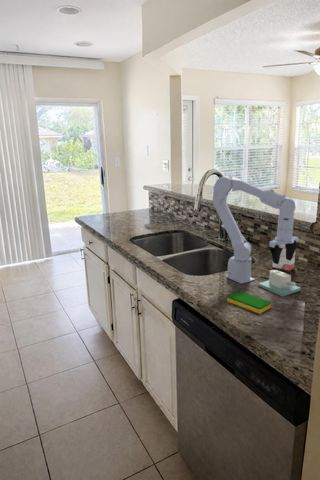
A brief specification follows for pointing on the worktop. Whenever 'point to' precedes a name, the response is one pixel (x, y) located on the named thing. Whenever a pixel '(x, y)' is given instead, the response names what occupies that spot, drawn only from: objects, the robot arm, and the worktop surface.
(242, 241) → the robot arm
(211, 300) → the worktop surface
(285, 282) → the white rounded piece
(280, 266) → the ink cartridge box
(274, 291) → the teal mat
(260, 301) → the dish sponge
